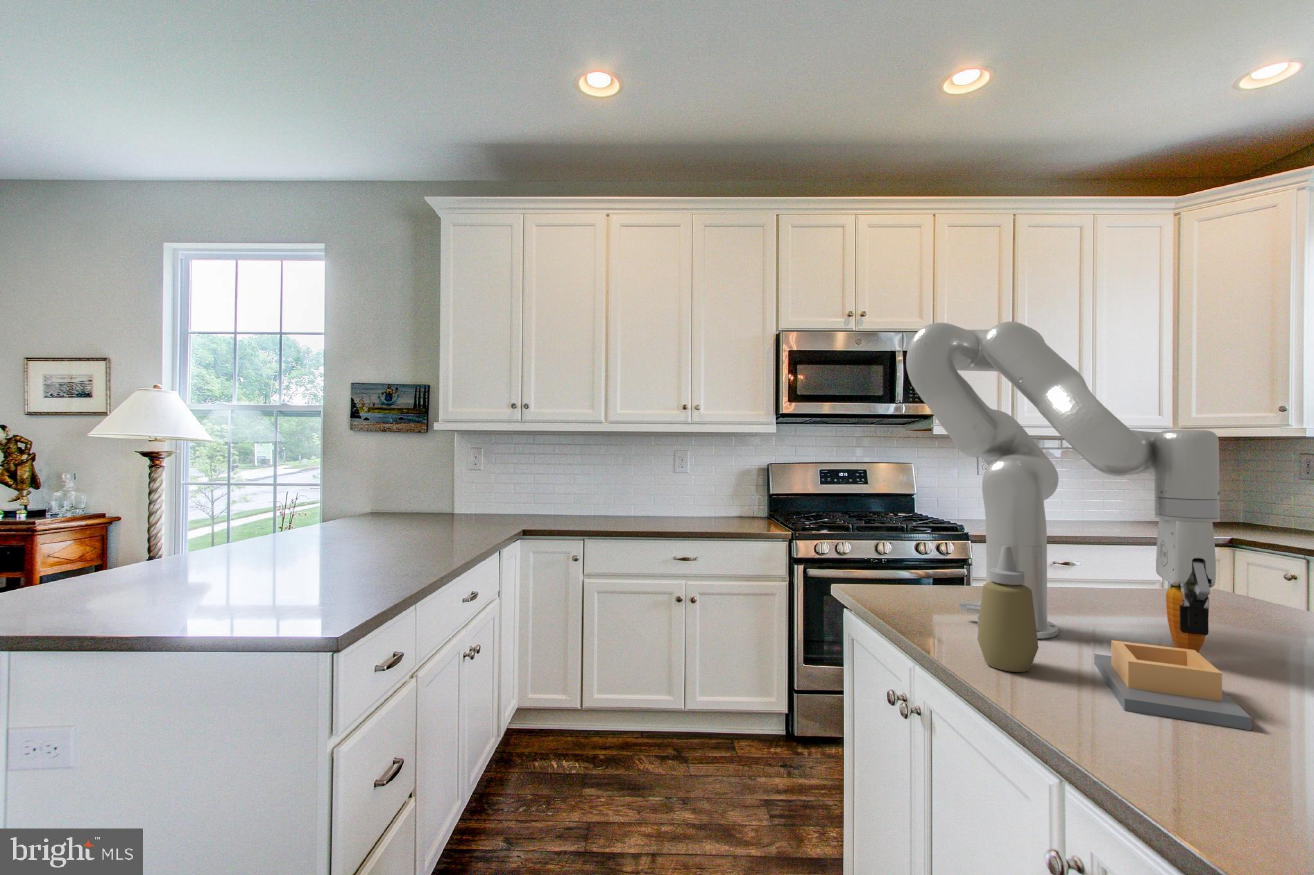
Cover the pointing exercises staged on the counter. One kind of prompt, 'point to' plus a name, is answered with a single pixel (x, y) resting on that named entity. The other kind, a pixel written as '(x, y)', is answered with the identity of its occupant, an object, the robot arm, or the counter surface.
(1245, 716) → the socket block
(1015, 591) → the squeeze bottle
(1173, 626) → the carrot
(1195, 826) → the counter surface
